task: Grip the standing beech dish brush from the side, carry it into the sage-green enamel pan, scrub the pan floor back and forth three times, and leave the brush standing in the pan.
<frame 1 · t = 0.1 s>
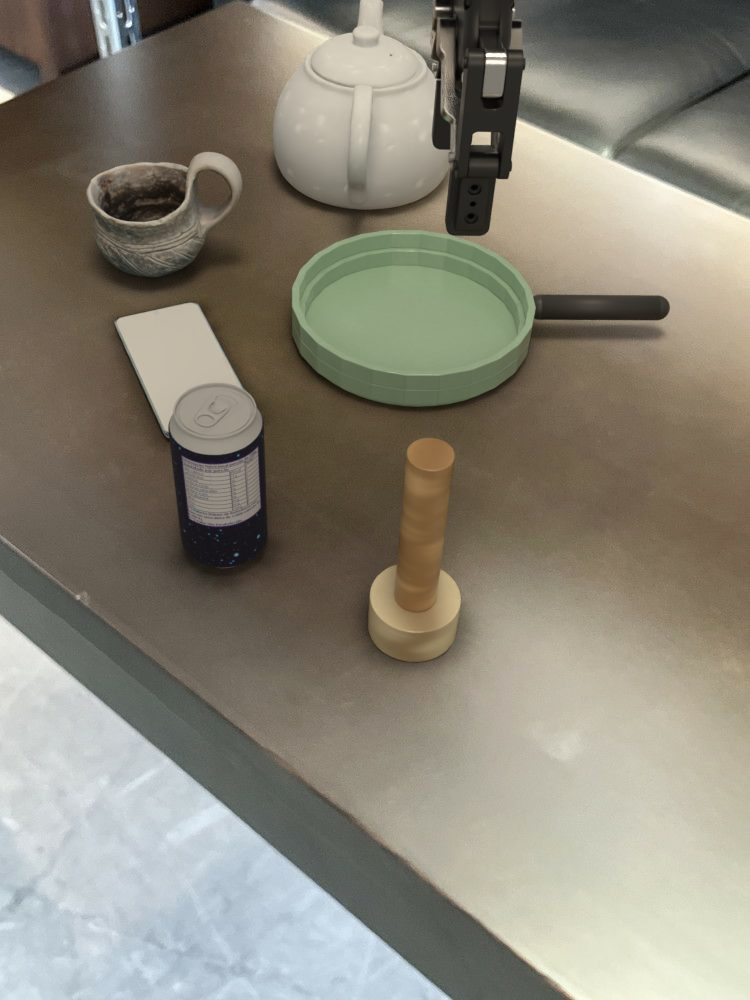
hand: (458, 187, 61), 25 cm above the table, tool pointing down, fingers open, 8 cm apart
smartphone: (183, 371, 89), on the table
beverage can: (225, 546, 76), on the table
mug: (171, 261, 99), on the table
pan: (410, 332, 93), on the table
brush: (412, 626, 72), on the table
teapot: (361, 173, 110), on the table
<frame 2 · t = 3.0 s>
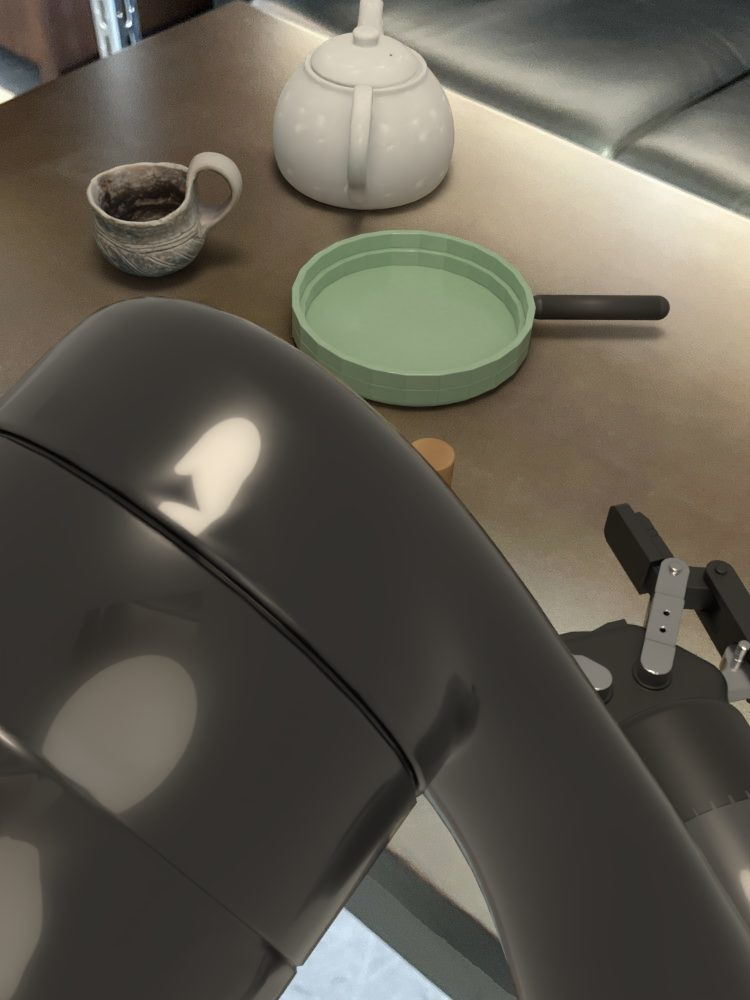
hand: (525, 535, 51), 20 cm above the table, tool horizontal, fingers open, 8 cm apart
nothing on the table moved.
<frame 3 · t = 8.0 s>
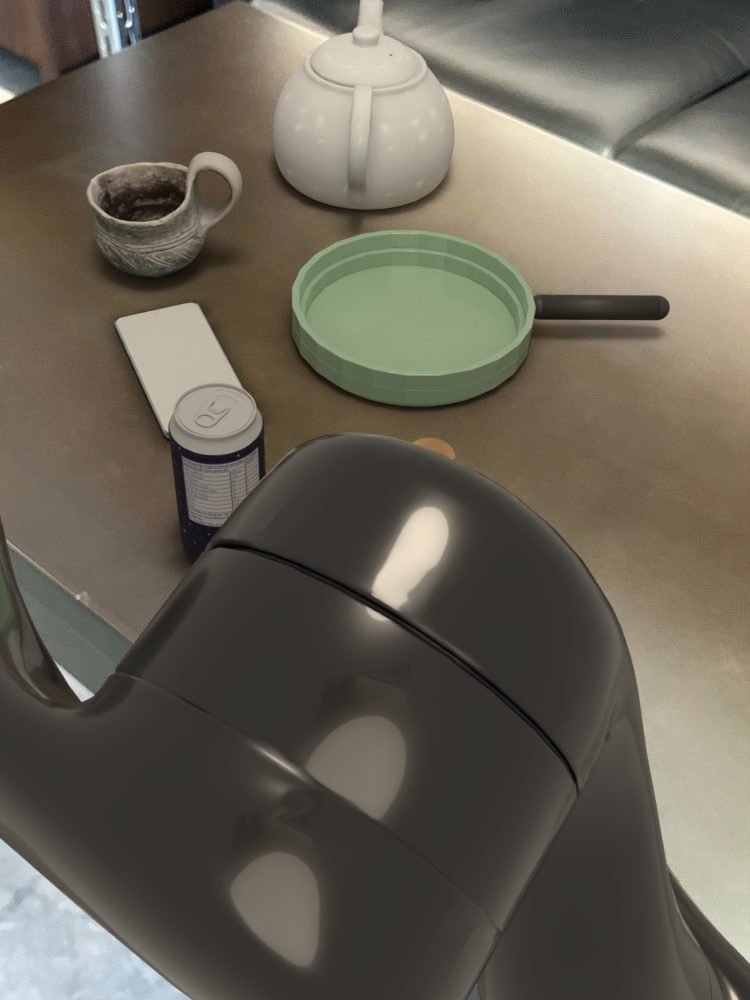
hand: (405, 494, 68), 9 cm above the table, tool horizontal, fingers closed on brush, 2 cm apart
brush: (412, 626, 72), on the table, touching gripper
everything else where it was.
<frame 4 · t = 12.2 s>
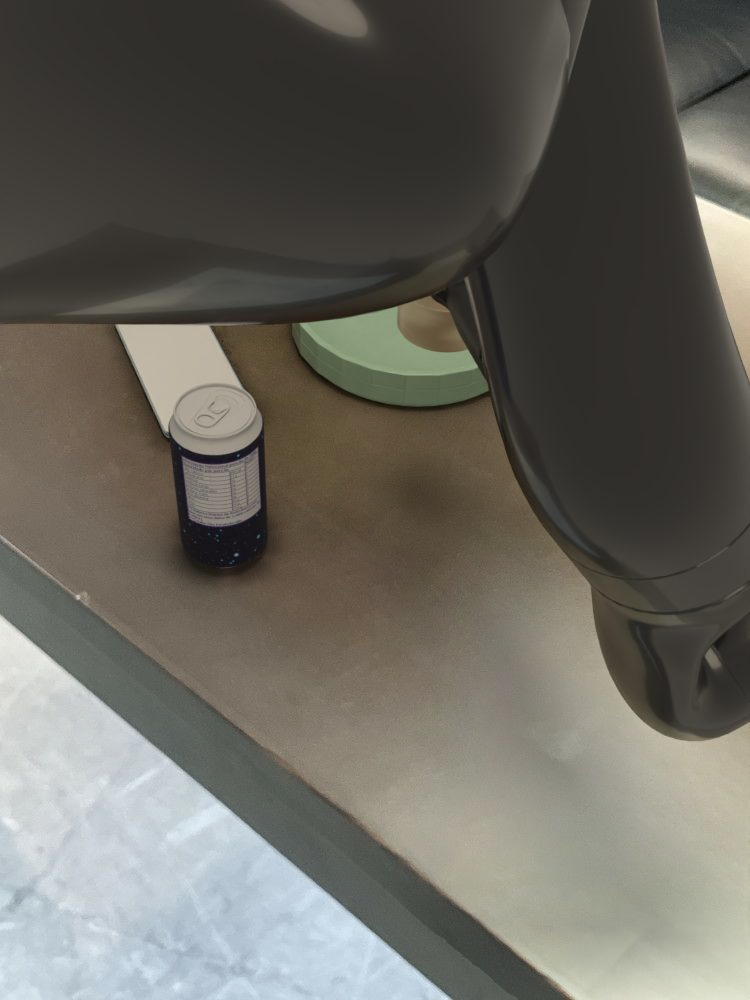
hand: (438, 165, 65), 24 cm above the table, tool horizontal, fingers closed on brush, 2 cm apart
brush: (442, 324, 70), point 15 cm above the table, touching gripper
everything else where it was.
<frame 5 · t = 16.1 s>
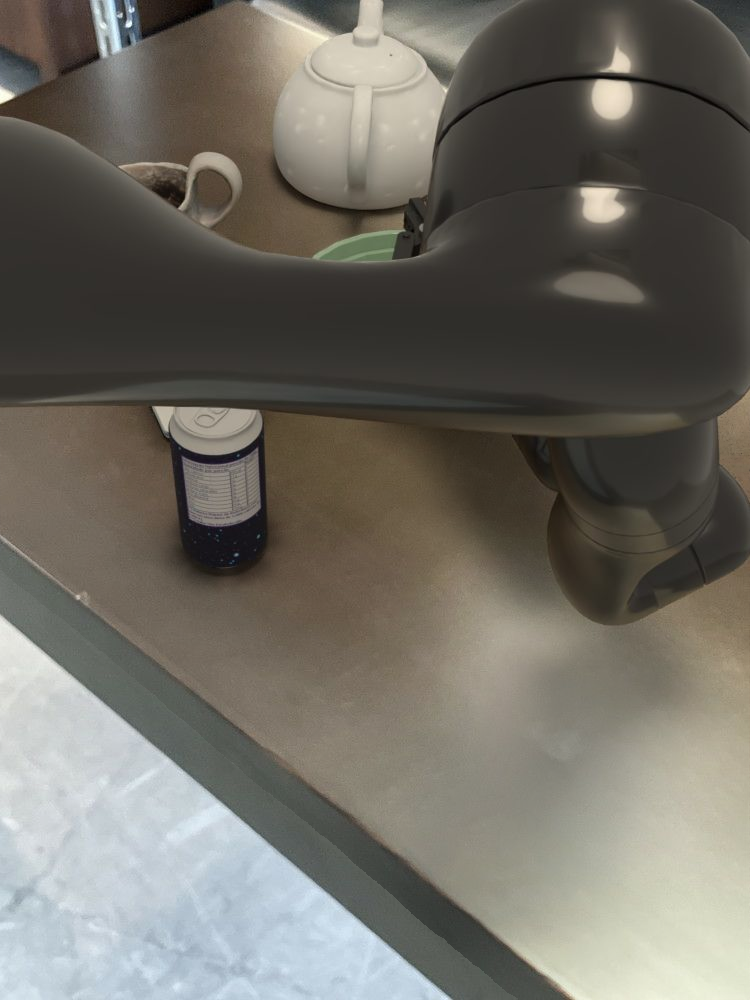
hand: (433, 206, 83), 13 cm above the table, tool horizontal, fingers closed on brush, 2 cm apart
brush: (438, 330, 87), point 4 cm above the table, touching gripper
everything else where it was.
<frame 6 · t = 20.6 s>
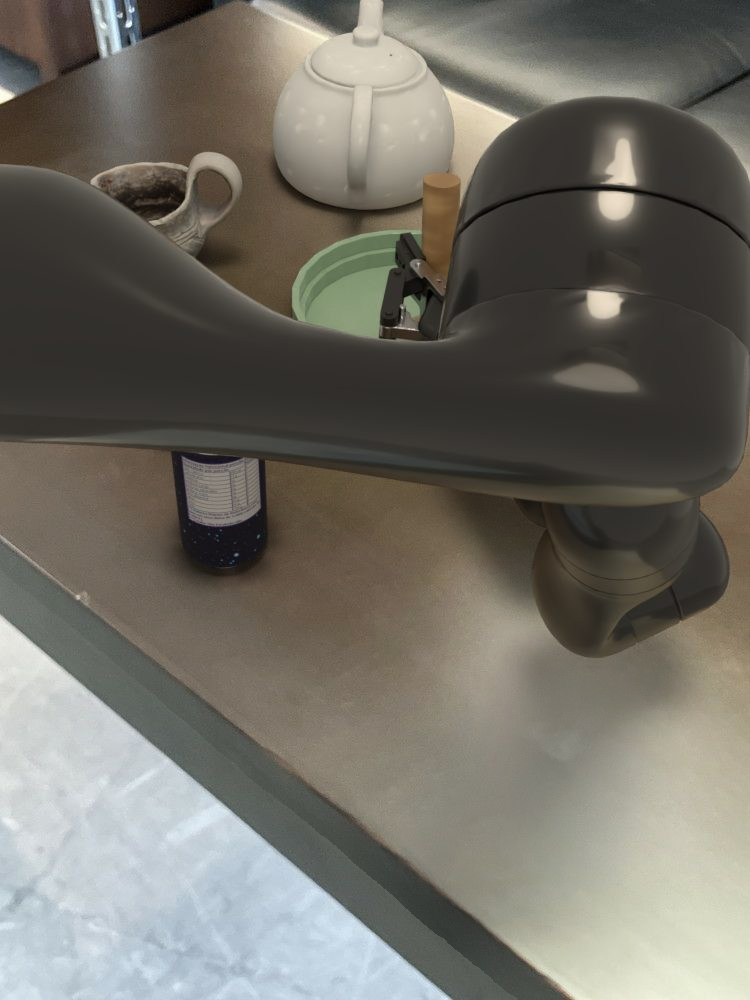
hand: (424, 240, 85), 10 cm above the table, tool horizontal, fingers closed on brush, 2 cm apart
brush: (435, 365, 89), point 1 cm above the table, tilted 8°, touching gripper, pan
everything else where it was.
when the fingers open (9 cm above the table, at t = 24.4 s): brush drops 1 cm, resting on pan.
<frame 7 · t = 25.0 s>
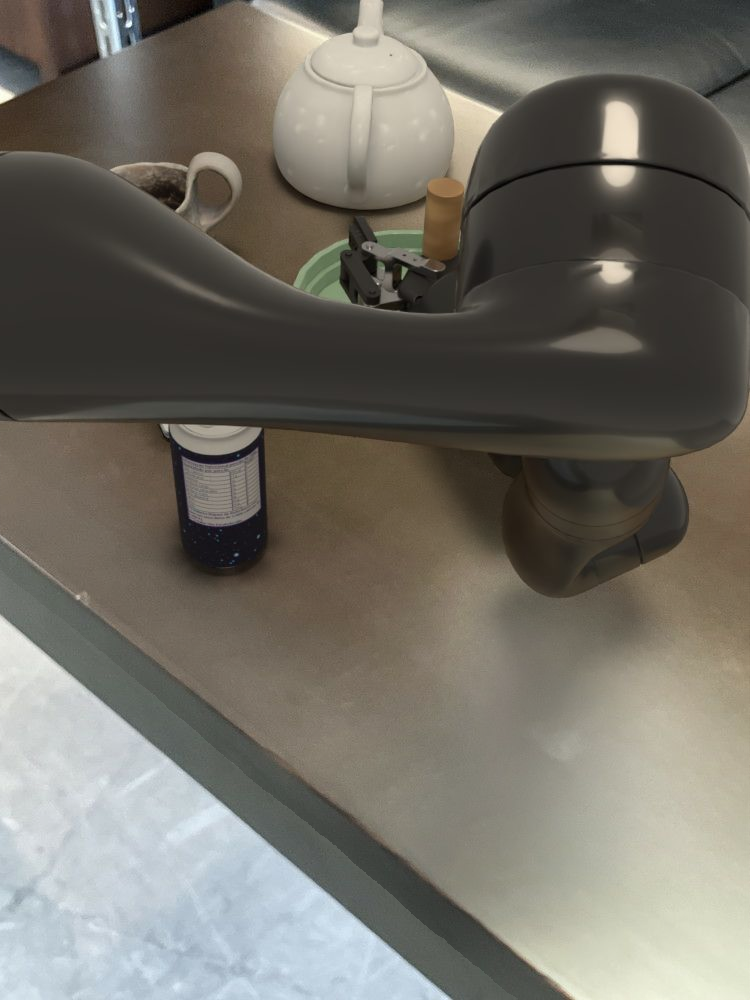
hand: (410, 219, 88), 9 cm above the table, tool horizontal, fingers open, 8 cm apart
brush: (429, 357, 90), point 1 cm above the table, touching pan
everything else where it was.
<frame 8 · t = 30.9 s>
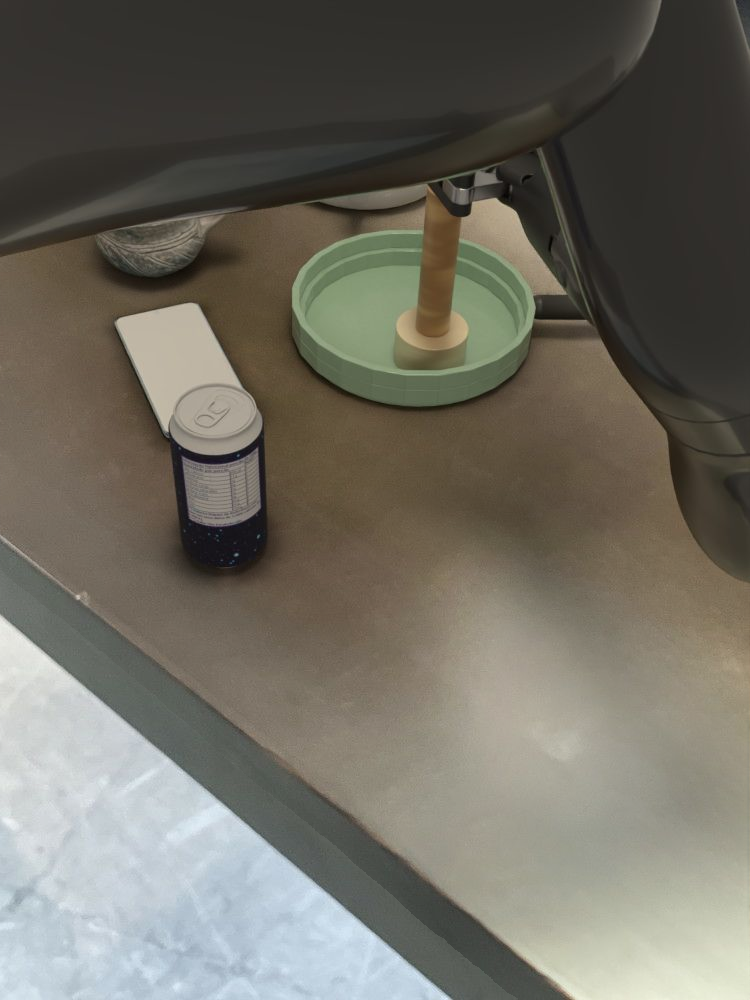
hand: (502, 91, 67), 26 cm above the table, tool horizontal, fingers open, 8 cm apart
nothing on the table moved.
at the end: brush inside the target area in the pan (4.1 cm from its centre), point 0.6 cm above the pan's base; brush tilted 0°; the gripper is holding nothing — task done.
